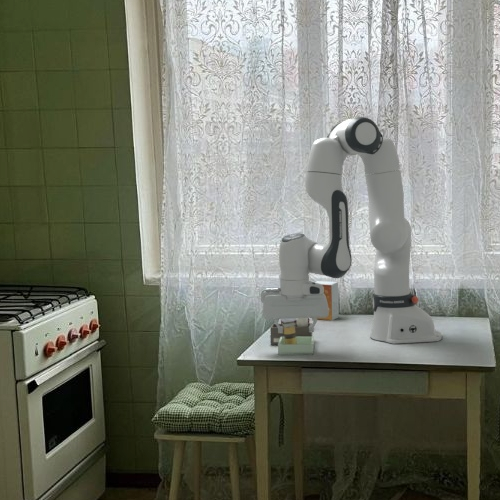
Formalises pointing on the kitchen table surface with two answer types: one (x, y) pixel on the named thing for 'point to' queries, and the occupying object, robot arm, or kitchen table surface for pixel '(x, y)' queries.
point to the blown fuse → (289, 332)
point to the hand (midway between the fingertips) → (296, 332)
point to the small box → (331, 299)
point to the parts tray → (296, 346)
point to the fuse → (302, 322)
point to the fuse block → (276, 336)
